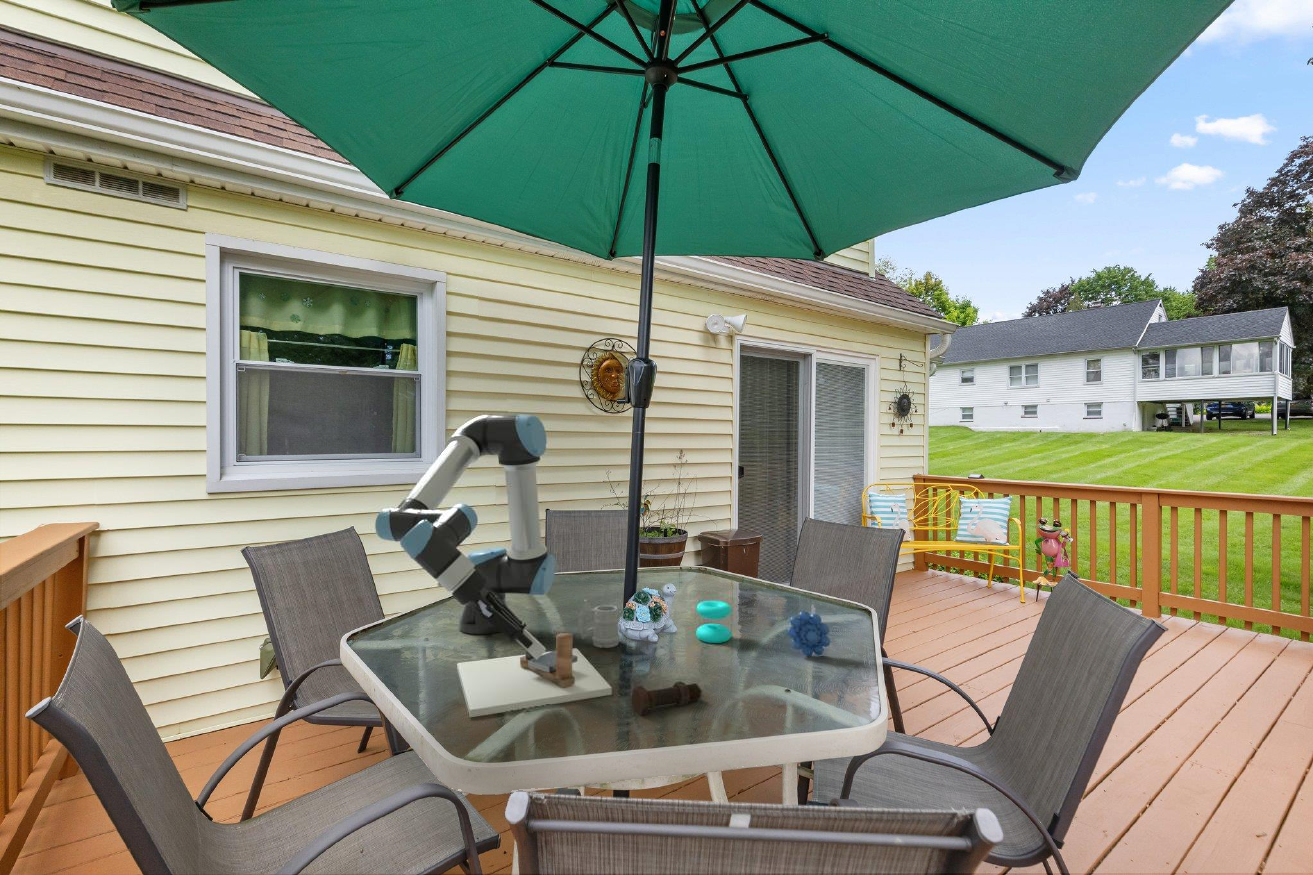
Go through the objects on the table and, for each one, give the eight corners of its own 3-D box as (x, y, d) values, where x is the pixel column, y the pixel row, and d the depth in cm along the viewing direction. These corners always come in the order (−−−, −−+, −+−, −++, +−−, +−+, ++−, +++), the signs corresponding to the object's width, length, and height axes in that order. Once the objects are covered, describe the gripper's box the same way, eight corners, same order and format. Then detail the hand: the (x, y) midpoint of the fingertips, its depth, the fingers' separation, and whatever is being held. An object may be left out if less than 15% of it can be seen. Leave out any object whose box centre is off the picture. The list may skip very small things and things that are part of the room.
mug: (617, 648, 161) (618, 604, 162) (574, 647, 162) (575, 603, 162) (621, 639, 169) (622, 597, 169) (580, 638, 170) (580, 596, 170)
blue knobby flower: (792, 662, 152) (792, 615, 153) (784, 653, 159) (784, 608, 159) (836, 661, 154) (836, 615, 154) (826, 652, 160) (826, 608, 160)
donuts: (694, 607, 167) (698, 598, 177) (694, 643, 167) (698, 632, 177) (730, 609, 165) (732, 600, 175) (730, 645, 165) (731, 634, 175)
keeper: (556, 670, 145) (556, 649, 145) (577, 677, 141) (577, 656, 141) (527, 681, 138) (528, 660, 138) (548, 689, 134) (549, 667, 134)
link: (516, 663, 144) (517, 620, 144) (533, 659, 147) (533, 617, 147) (560, 688, 130) (561, 639, 130) (577, 683, 133) (577, 635, 133)
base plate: (457, 669, 145) (457, 663, 145) (576, 653, 157) (576, 648, 157) (469, 717, 119) (469, 709, 119) (611, 694, 131) (611, 687, 131)
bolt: (699, 709, 129) (637, 721, 122) (689, 690, 133) (628, 701, 126) (707, 690, 126) (644, 701, 119) (697, 672, 130) (635, 681, 123)
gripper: (455, 585, 134) (529, 656, 137) (445, 600, 121) (527, 678, 124) (479, 561, 135) (553, 632, 138) (472, 574, 122) (553, 651, 125)
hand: (541, 654), depth 131 cm, fingers closed
